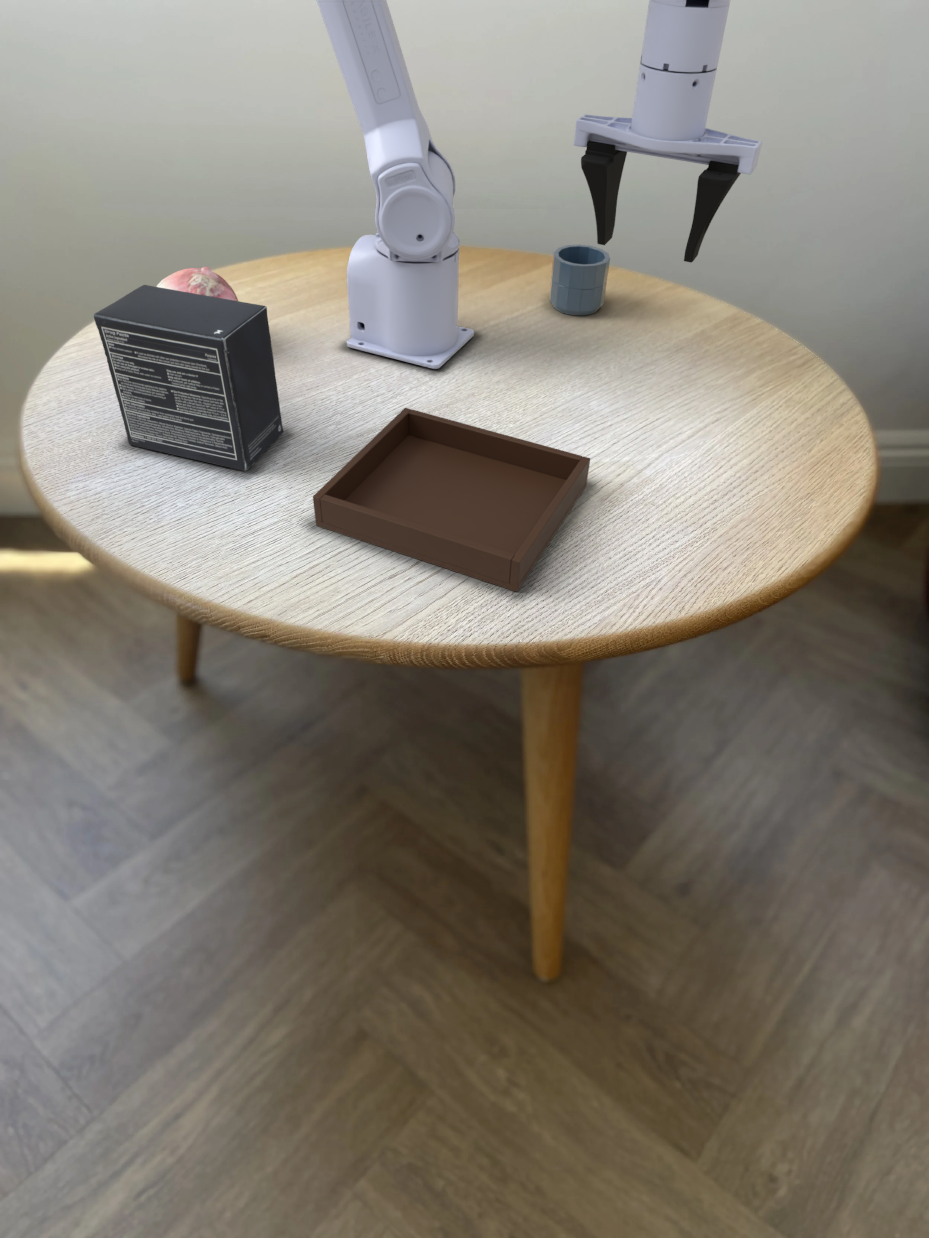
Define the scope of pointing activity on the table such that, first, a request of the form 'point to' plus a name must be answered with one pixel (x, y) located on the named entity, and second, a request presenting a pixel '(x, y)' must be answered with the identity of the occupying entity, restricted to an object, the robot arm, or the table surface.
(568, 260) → the cup
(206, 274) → the onion
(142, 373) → the small box
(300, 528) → the table surface
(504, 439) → the tray
